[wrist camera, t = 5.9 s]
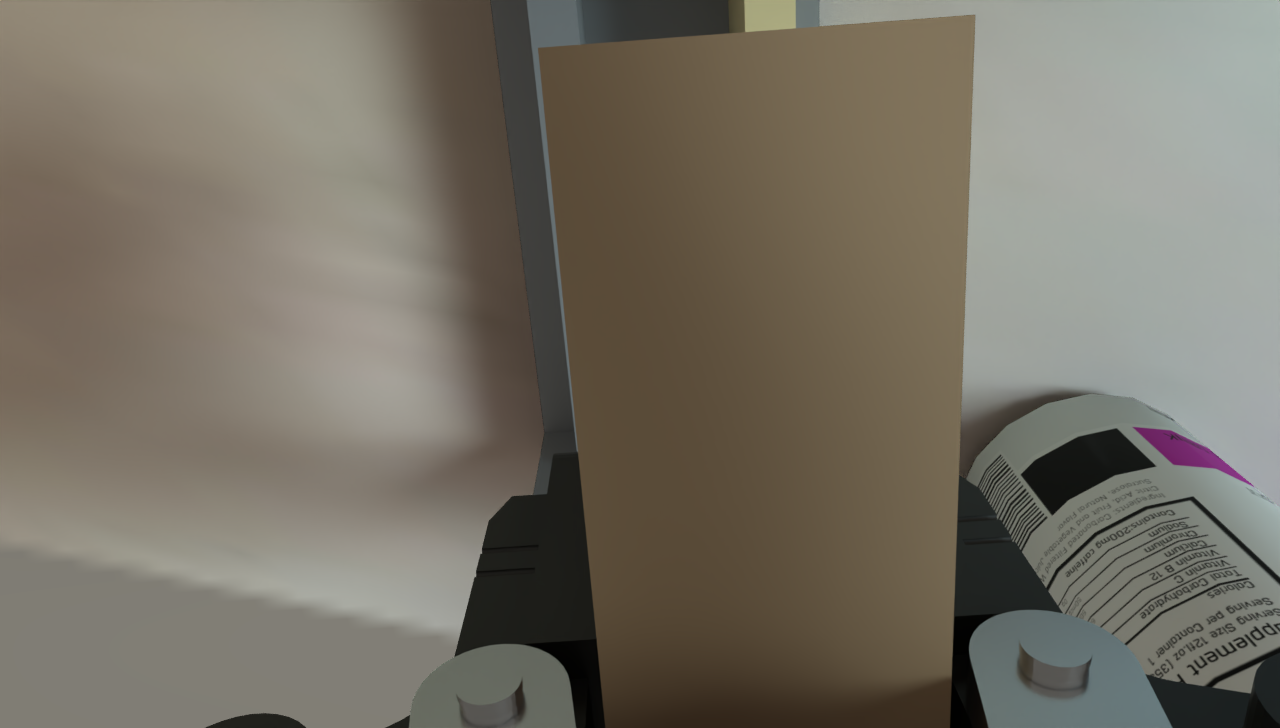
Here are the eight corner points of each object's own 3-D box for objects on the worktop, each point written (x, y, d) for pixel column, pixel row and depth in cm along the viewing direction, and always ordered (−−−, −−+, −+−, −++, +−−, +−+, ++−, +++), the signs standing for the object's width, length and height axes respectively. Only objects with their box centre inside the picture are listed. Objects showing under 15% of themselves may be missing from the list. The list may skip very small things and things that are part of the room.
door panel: (773, 41, 14) (983, 13, 6) (791, 710, 18) (934, 1313, 9) (594, 55, 14) (527, 48, 6) (648, 719, 18) (659, 1325, 9)
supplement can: (1202, 376, 32) (1650, 695, 18) (1166, 581, 35) (1522, 987, 21) (958, 392, 32) (1214, 722, 18) (945, 595, 35) (1153, 1008, 21)
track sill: (812, -159, 25) (916, -232, 16) (813, 438, 32) (887, 625, 23) (479, -132, 25) (393, -189, 16) (551, 456, 32) (520, 650, 23)
